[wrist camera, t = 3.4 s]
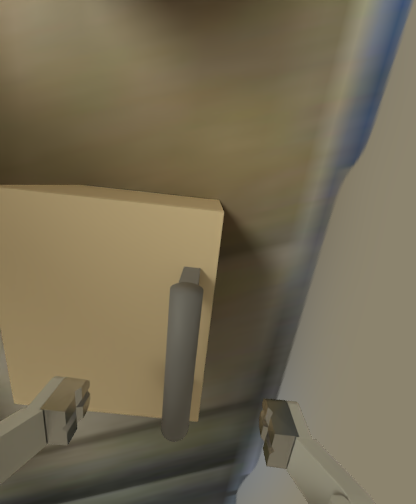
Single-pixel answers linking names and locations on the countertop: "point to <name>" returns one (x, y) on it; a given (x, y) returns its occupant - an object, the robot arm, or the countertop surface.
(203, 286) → the wooden box lid
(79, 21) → the countertop surface
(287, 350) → the countertop surface
